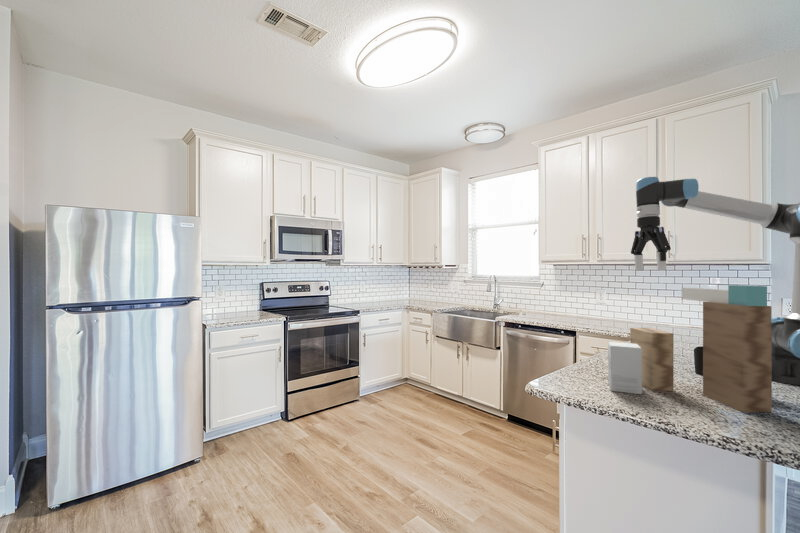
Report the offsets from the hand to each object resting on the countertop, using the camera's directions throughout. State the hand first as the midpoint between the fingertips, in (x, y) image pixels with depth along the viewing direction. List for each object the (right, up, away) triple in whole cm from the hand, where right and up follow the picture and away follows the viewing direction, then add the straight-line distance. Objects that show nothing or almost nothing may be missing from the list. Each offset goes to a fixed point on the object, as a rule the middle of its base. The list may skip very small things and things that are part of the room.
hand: (650, 270), depth 145 cm
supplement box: (-23, -40, -21) cm, 51 cm away
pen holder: (+21, -41, -3) cm, 46 cm away
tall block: (+2, -40, -34) cm, 52 cm away
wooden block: (-11, -40, -17) cm, 45 cm away
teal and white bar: (+3, -10, -28) cm, 30 cm away
